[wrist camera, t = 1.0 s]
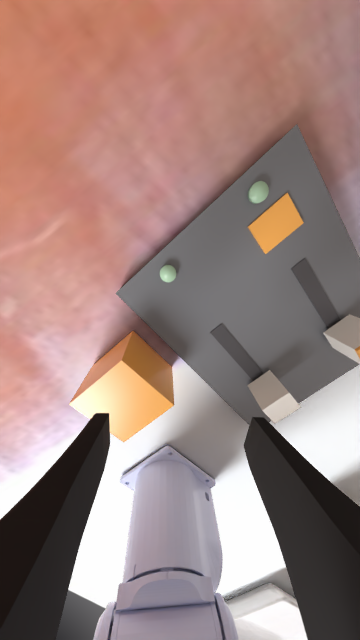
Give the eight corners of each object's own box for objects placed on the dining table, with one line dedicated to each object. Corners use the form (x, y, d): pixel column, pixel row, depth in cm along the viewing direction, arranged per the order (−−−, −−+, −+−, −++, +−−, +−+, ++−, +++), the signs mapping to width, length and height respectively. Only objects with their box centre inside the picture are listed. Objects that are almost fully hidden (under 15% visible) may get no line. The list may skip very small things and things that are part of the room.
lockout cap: (171, 367, 19) (173, 405, 15) (133, 397, 20) (123, 442, 16) (133, 330, 18) (121, 360, 13) (93, 364, 19) (68, 404, 14)
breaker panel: (380, 333, 20) (403, 342, 18) (249, 419, 22) (257, 434, 21) (283, 136, 14) (302, 119, 12) (119, 289, 16) (114, 294, 14)
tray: (275, 635, 49) (283, 663, 46) (201, 601, 39) (204, 633, 36) (337, 611, 46) (350, 639, 43) (274, 568, 36) (285, 599, 33)
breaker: (280, 383, 19) (301, 407, 16) (258, 397, 19) (274, 423, 16) (269, 369, 18) (289, 392, 15) (247, 385, 18) (262, 410, 16)
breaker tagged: (358, 330, 17) (399, 348, 14) (332, 347, 18) (366, 368, 15) (349, 314, 17) (390, 329, 14) (323, 332, 17) (356, 350, 14)
